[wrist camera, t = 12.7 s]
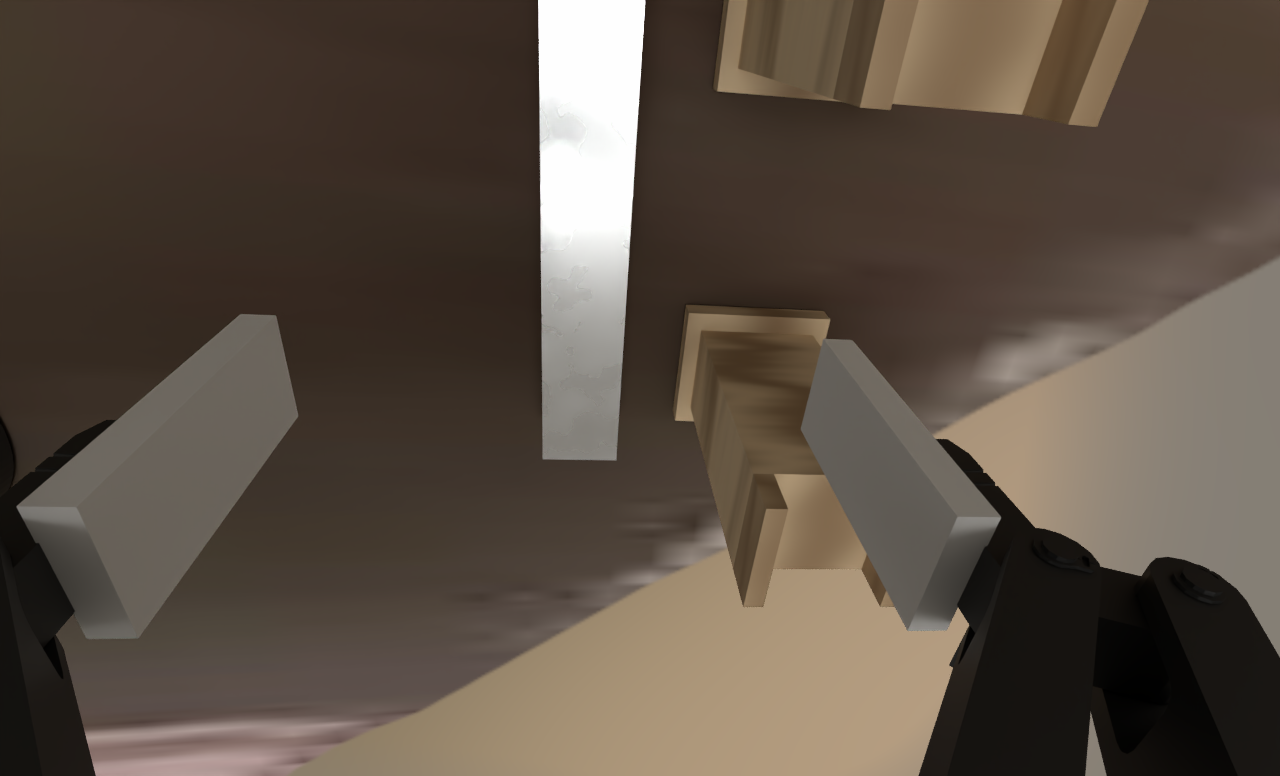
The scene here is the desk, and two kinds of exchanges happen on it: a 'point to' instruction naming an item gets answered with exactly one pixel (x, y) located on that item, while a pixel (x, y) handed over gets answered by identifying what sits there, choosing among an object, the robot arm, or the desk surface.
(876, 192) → the desk surface
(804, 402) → the post
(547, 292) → the rail
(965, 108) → the post
